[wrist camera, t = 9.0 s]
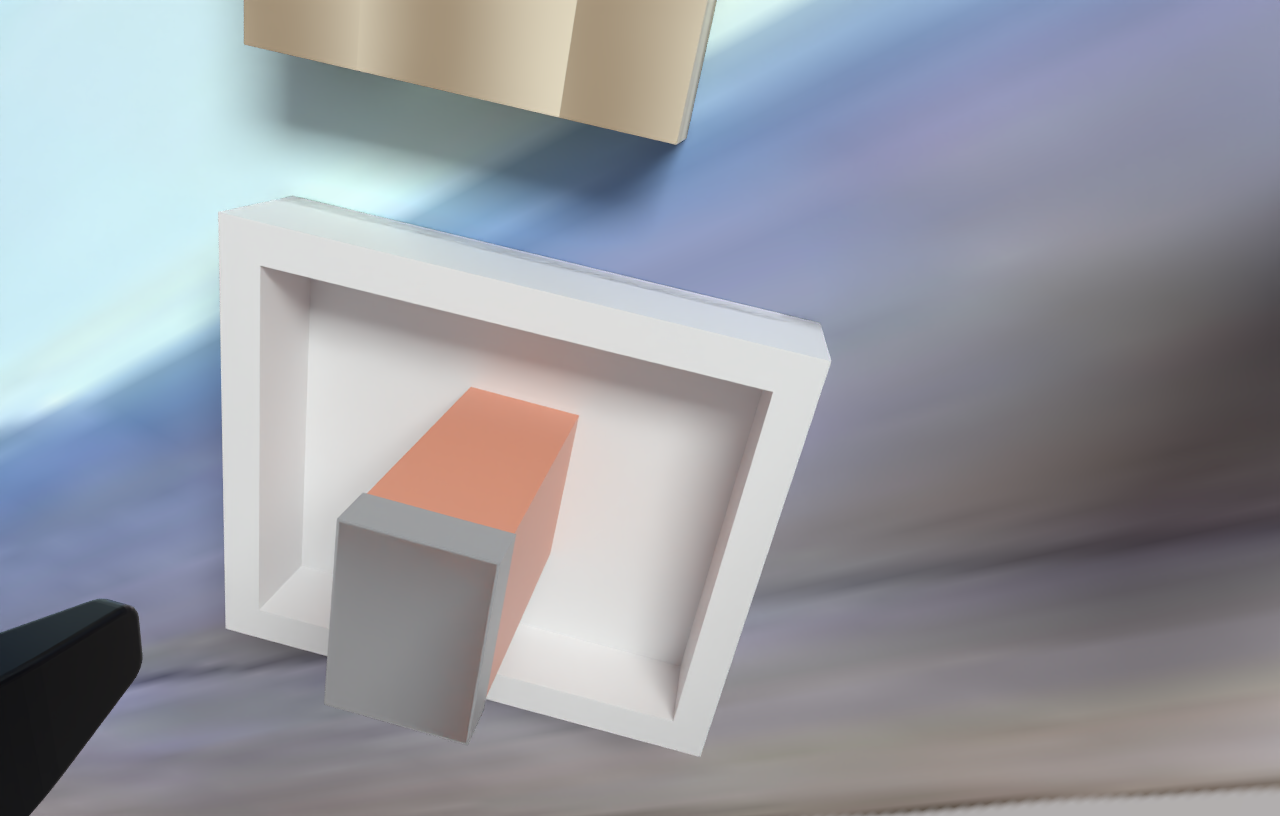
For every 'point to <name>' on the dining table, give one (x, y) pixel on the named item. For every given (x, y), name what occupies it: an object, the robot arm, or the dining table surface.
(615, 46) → the socket
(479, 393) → the block
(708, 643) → the parts tray
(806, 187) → the dining table surface
